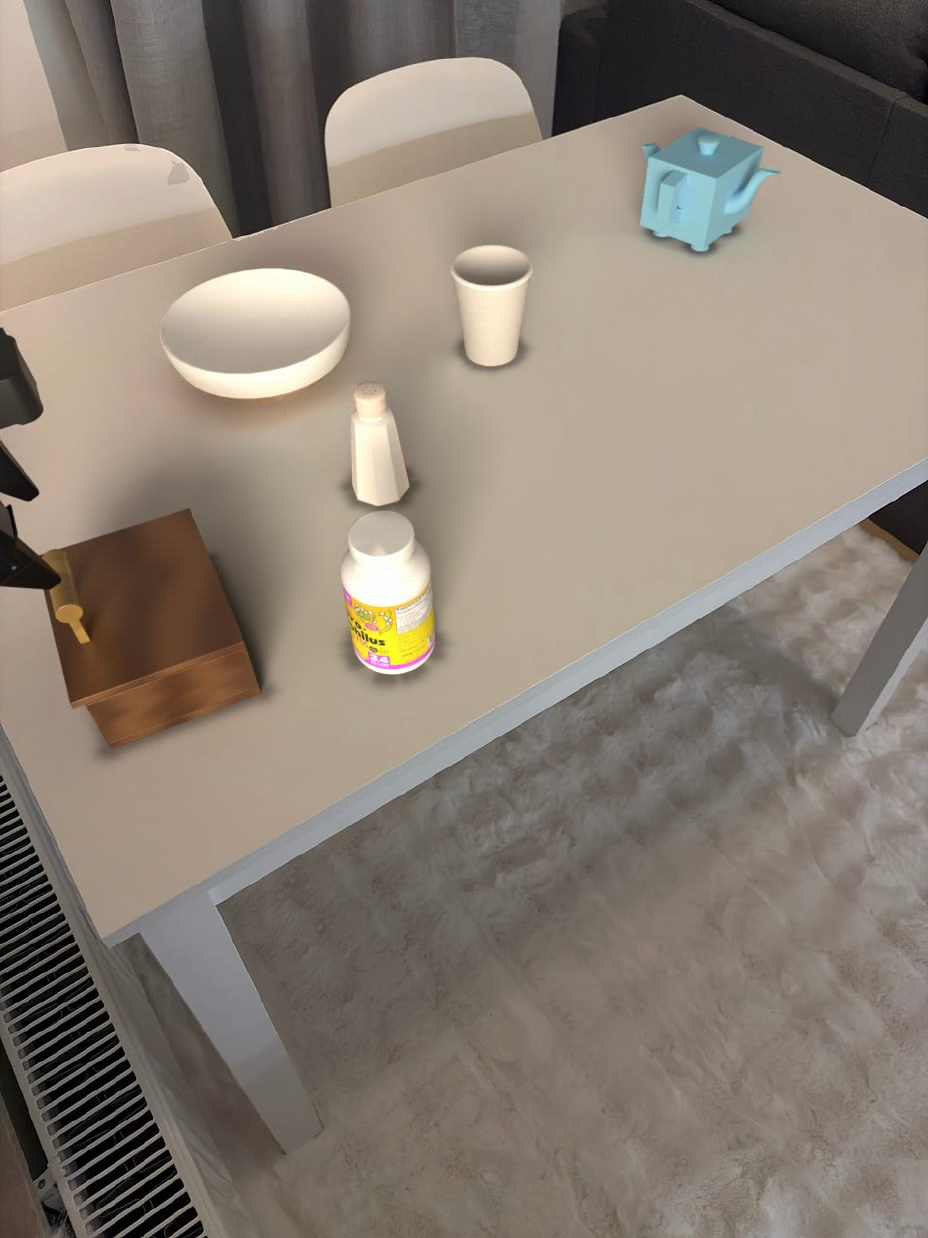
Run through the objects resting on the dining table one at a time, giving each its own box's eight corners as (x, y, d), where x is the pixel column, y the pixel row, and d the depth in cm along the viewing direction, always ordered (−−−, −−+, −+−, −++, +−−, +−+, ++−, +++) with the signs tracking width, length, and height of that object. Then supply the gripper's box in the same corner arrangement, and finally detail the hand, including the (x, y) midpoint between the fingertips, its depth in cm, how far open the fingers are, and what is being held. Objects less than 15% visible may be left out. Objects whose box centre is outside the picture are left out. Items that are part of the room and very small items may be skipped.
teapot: (669, 188, 122) (682, 97, 114) (791, 230, 115) (816, 137, 106) (599, 235, 115) (609, 141, 106) (725, 283, 107) (746, 187, 98)
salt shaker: (348, 506, 84) (332, 409, 76) (356, 467, 88) (341, 370, 79) (406, 507, 84) (397, 410, 76) (412, 468, 87) (404, 371, 79)
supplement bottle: (338, 639, 74) (315, 526, 64) (405, 601, 77) (392, 486, 67) (384, 692, 71) (367, 582, 61) (452, 650, 73) (447, 537, 63)
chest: (111, 749, 68) (85, 705, 64) (74, 606, 77) (49, 559, 73) (261, 693, 71) (245, 647, 67) (208, 561, 80) (192, 513, 76)
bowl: (135, 390, 96) (117, 339, 92) (252, 300, 107) (241, 250, 102) (283, 448, 90) (272, 397, 85) (392, 347, 100) (387, 296, 96)
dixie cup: (525, 376, 96) (528, 289, 89) (447, 370, 97) (443, 284, 90) (533, 331, 102) (537, 246, 94) (459, 326, 103) (457, 241, 95)
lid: (73, 709, 63) (46, 666, 60) (38, 562, 72) (13, 516, 69) (245, 647, 67) (230, 602, 63) (191, 513, 76) (175, 467, 72)
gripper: (-36, 395, 43) (173, 561, 56) (-70, 222, 54) (111, 393, 67) (-218, 530, 44) (29, 663, 57) (-215, 332, 55) (-8, 481, 68)
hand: (44, 538), depth 62 cm, fingers open, 9 cm apart
